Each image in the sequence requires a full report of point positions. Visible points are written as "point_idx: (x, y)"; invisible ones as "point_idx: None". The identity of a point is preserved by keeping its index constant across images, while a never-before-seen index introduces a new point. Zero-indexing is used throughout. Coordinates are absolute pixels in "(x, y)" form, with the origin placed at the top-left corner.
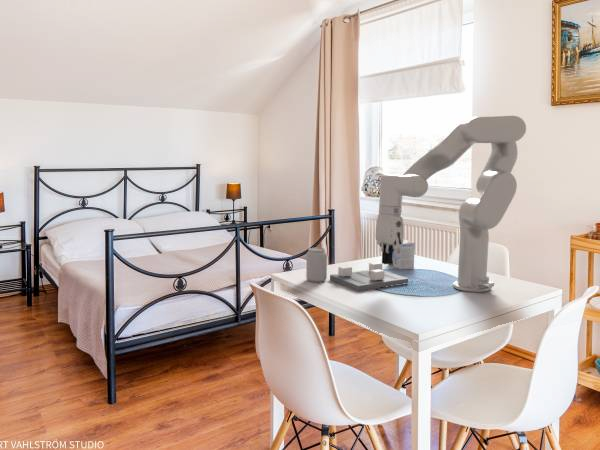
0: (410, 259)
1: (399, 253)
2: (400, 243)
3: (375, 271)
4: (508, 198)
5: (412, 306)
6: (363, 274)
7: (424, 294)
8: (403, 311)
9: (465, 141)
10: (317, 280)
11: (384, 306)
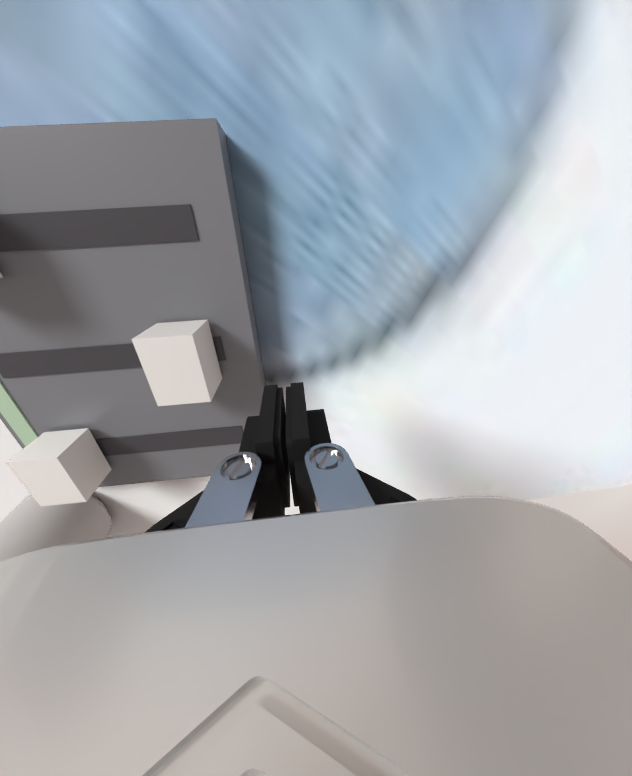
0: None
1: None
2: (488, 508)
3: (195, 393)
4: None
5: (523, 385)
6: (57, 360)
7: (456, 217)
8: (530, 435)
9: None
10: (111, 525)
11: (459, 456)
